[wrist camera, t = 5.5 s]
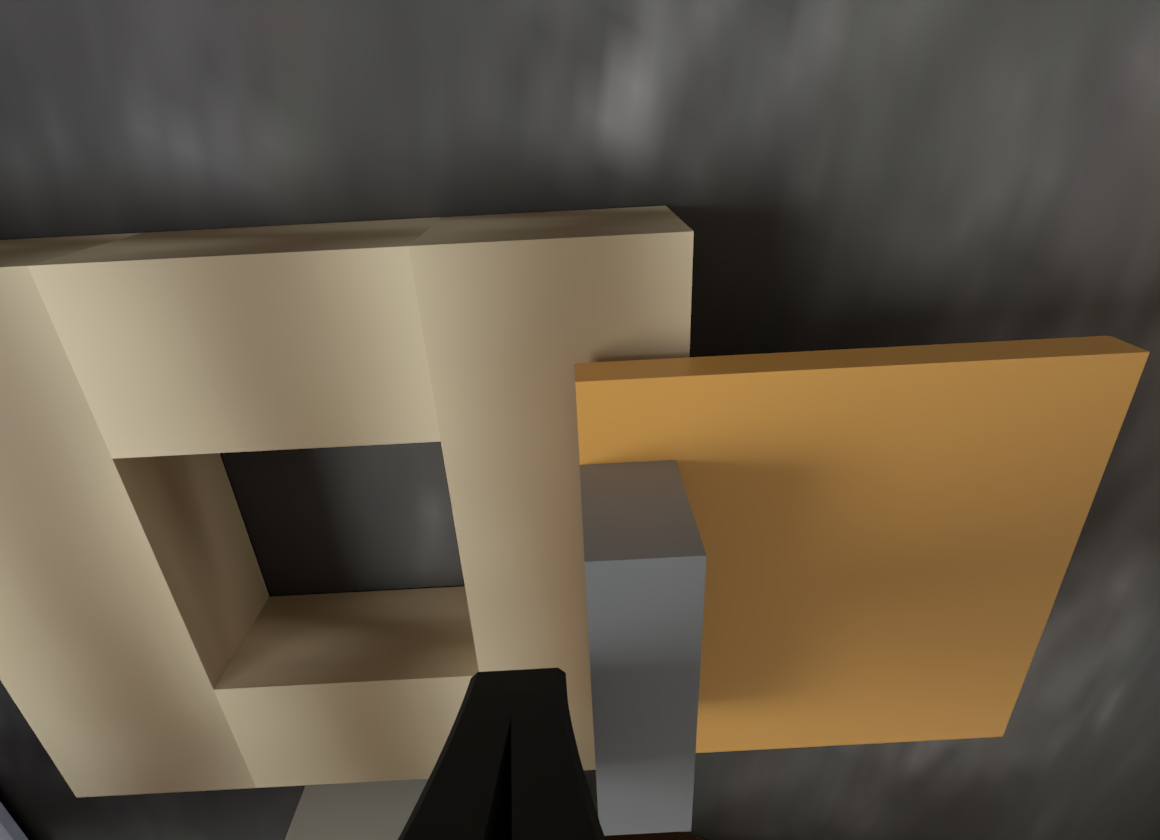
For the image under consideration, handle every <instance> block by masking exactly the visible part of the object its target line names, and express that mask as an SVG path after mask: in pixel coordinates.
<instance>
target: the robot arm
mask: <svg viewBox="0 0 1160 840" xmlns="http://www.w3.org/2000/svg"><path fill="white" fill-rule="evenodd" d="M0 840H28V838H27V837H26V836H25V834H24V833H23V831H22V830H21V829H20V827H19V826H18V825H17V823H16V822H15V821H14V819H13V818H12V817H11V815H10V814H9V813H8V811H7V810H6V808H5V807H4V806H3V804H2V803H1V802H0ZM398 840H606V839H605V836H604V833H603V831H602V828H601V825H600V822H599V819H598V816H597V812H596V809H595V806H594V803H593V800H592V797H591V793H590V790H589V787H588V784H587V781H586V778H585V774H584V771H583V767H582V764H581V760H580V756H579V752H578V748H577V744H576V740H575V736H574V732H573V727H572V722H571V717H570V712H569V706H568V696H567V683H566V673H565V672H564V671H562V670H561V669H559V668H540V669H523V670H505V671H487V672H477V673H476V674H475V675H474V676H473V677H472V678H471V679H470V682H469V685H468V688H467V691H466V694H465V697H464V699H463V702H462V704H461V707H460V709H459V712H458V714H457V717H456V719H455V722H454V724H453V726H452V729H451V731H450V733H449V736H448V738H447V740H446V742H445V745H444V747H443V749H442V751H441V753H440V756H439V758H438V760H437V762H436V764H435V767H434V769H433V771H432V773H431V775H430V777H429V779H428V781H427V783H426V785H425V787H424V789H423V791H422V793H421V795H420V797H419V799H418V801H417V803H416V805H415V807H414V809H413V811H412V813H411V815H410V817H409V819H408V821H407V823H406V825H405V827H404V829H403V831H402V833H401V834H400V836H399V838H398Z"/></svg>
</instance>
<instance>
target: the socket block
mask: <svg viewBox="0 0 1160 840" xmlns="http://www.w3.org/2000/svg"><path fill="white" fill-rule="evenodd" d="M693 240H694V231H693V230H692V229H691V228H690V227H688V226H687V225H686V224H685V223H684V222H683V221H682V220H681V219H680V218H679V217H678V216H676V215H675V214H674V213H673V212H672V211H671V210H670V209H669V208H668V207H667V206H648V207H629V208H609V209H590V210H571V211H551V212H532V213H512V214H493V215H474V216H454V217H435V218H416V219H396V220H377V221H358V222H338V223H319V224H300V225H280V226H261V227H242V228H222V229H203V230H184V231H164V232H145V233H126V234H106V235H87V236H68V237H48V238H29V239H10V240H0V680H1V682H2V684H3V685H4V687H5V688H6V690H7V691H8V693H9V694H10V696H11V697H12V699H13V700H14V702H15V704H16V705H17V707H18V708H19V710H20V711H21V713H22V714H23V716H24V717H25V719H26V721H27V722H28V724H29V725H30V727H31V728H32V730H33V731H34V733H35V734H36V736H37V737H38V739H39V741H40V742H41V744H42V745H43V747H44V748H45V750H46V751H47V753H48V754H49V756H50V757H51V759H52V761H53V762H54V764H55V765H56V767H57V768H58V770H59V771H60V773H61V774H62V776H63V778H64V779H65V781H66V782H67V784H68V785H69V787H70V788H71V790H72V791H73V793H74V794H75V796H76V798H78V797H97V796H115V795H134V794H152V793H171V792H190V791H208V790H227V789H246V788H264V787H283V786H301V785H320V784H339V783H357V782H376V781H394V780H413V779H429V777H430V775H431V773H432V771H433V769H434V767H435V764H436V762H437V760H438V758H439V756H440V753H441V751H442V749H443V747H444V745H445V742H446V740H447V738H448V736H449V733H450V731H451V729H452V726H453V724H454V722H455V719H456V717H457V714H458V712H459V709H460V707H461V704H462V702H463V699H464V697H465V694H466V691H467V688H468V685H469V682H470V679H471V678H472V677H473V676H474V675H475V674H476V673H477V672H487V671H505V670H523V669H540V668H559V669H561V670H562V671H564V672H565V673H566V683H567V696H568V706H569V712H570V717H571V722H572V727H573V732H574V736H575V740H576V744H577V748H578V752H579V756H580V760H581V764H582V767H583V770H596V766H595V747H594V729H593V710H592V692H591V673H590V655H589V636H588V617H587V599H586V580H585V562H584V541H583V521H582V501H581V480H580V460H579V441H578V423H577V404H576V385H575V365H574V363H591V362H611V361H630V360H649V359H668V358H687V357H690V327H691V298H692V269H693ZM440 441H441V445H442V451H443V457H444V463H445V469H446V475H447V481H448V487H449V493H450V499H451V505H452V511H453V517H454V523H455V530H456V536H457V542H458V548H459V554H460V560H461V566H462V572H463V578H464V584H465V586H462V587H443V588H424V589H405V590H386V591H368V592H349V593H330V594H311V595H292V596H273V597H269V594H268V591H267V588H266V585H265V582H264V579H263V576H262V574H261V571H260V568H259V565H258V562H257V559H256V556H255V553H254V551H253V548H252V545H251V542H250V539H249V536H248V533H247V531H246V528H245V525H244V522H243V519H242V516H241V513H240V510H239V508H238V505H237V502H236V499H235V496H234V493H233V490H232V487H231V485H230V482H229V479H228V476H227V473H226V470H225V467H224V464H223V462H222V459H221V456H220V453H230V452H249V451H268V450H287V449H306V448H325V447H344V446H364V445H383V444H402V443H421V442H440Z"/></svg>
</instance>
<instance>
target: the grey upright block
mask: <svg viewBox="0 0 1160 840" xmlns="http://www.w3.org/2000/svg"><path fill="white" fill-rule="evenodd" d="M427 781H428V779H413V780H394V781H376V782H357V783H339V784H320V785H305V788H304V791H303V793H302V796H301V798H300V801H299V804H298V806H297V809H296V811H295V814H294V817H293V819H292V822H291V825H290V827H289V830H288V832H287V835H286V838H285V840H398V838H399V836H400V834H401V833H402V831H403V829H404V827H405V825H406V823H407V821H408V819H409V817H410V815H411V813H412V811H413V809H414V807H415V805H416V803H417V801H418V799H419V797H420V795H421V793H422V791H423V789H424V787H425V785H426V783H427Z"/></svg>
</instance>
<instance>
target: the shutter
mask: <svg viewBox="0 0 1160 840" xmlns="http://www.w3.org/2000/svg"><path fill="white" fill-rule="evenodd" d="M1149 353H1150V352H1149V351H1146V350H1144V349H1142V348H1139V347H1137V346H1134V345H1132V344H1129V343H1127V342H1124V341H1122V340H1120V339H1117V338H1115V337H1112V336H1110V335H1108V336H1089V337H1070V338H1051V339H1032V340H1013V341H993V342H974V343H955V344H936V345H917V346H898V347H879V348H859V349H840V350H821V351H802V352H783V353H764V354H745V355H725V356H706V357H687V358H668V359H649V360H630V361H611V362H591V363H574V365H575V385H576V404H577V423H578V441H579V460H580V480H581V501H582V521H583V541H584V562H585V580H586V599H587V617H588V636H589V655H590V673H591V692H592V710H593V729H594V747H595V766H596V785H597V803H598V819H599V822H600V825H601V828H602V831H603V833H604V836H608V835H627V834H645V833H664V832H682V831H691V826H692V808H693V790H694V772H695V754H696V753H706V752H724V751H743V750H761V749H780V748H799V747H817V746H836V745H855V744H873V743H892V742H911V741H929V740H948V739H966V738H985V737H1003V734H1004V732H1005V729H1006V727H1007V724H1008V721H1009V719H1010V716H1011V714H1012V711H1013V708H1014V706H1015V703H1016V700H1017V698H1018V695H1019V693H1020V690H1021V687H1022V685H1023V682H1024V680H1025V677H1026V674H1027V672H1028V669H1029V666H1030V664H1031V661H1032V659H1033V656H1034V653H1035V651H1036V648H1037V646H1038V643H1039V640H1040V638H1041V635H1042V633H1043V630H1044V627H1045V625H1046V622H1047V619H1048V617H1049V614H1050V612H1051V609H1052V606H1053V604H1054V601H1055V599H1056V596H1057V593H1058V591H1059V588H1060V586H1061V583H1062V580H1063V578H1064V575H1065V572H1066V570H1067V567H1068V565H1069V562H1070V559H1071V557H1072V554H1073V552H1074V549H1075V546H1076V544H1077V541H1078V538H1079V536H1080V533H1081V531H1082V528H1083V525H1084V523H1085V520H1086V518H1087V515H1088V512H1089V510H1090V507H1091V505H1092V502H1093V499H1094V497H1095V494H1096V491H1097V489H1098V486H1099V484H1100V481H1101V478H1102V476H1103V473H1104V471H1105V468H1106V465H1107V463H1108V460H1109V457H1110V455H1111V452H1112V450H1113V447H1114V444H1115V442H1116V439H1117V437H1118V434H1119V431H1120V429H1121V426H1122V424H1123V421H1124V418H1125V416H1126V413H1127V410H1128V408H1129V405H1130V403H1131V400H1132V397H1133V395H1134V392H1135V390H1136V387H1137V384H1138V382H1139V379H1140V376H1141V374H1142V371H1143V369H1144V366H1145V363H1146V361H1147V358H1148V356H1149Z"/></svg>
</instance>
